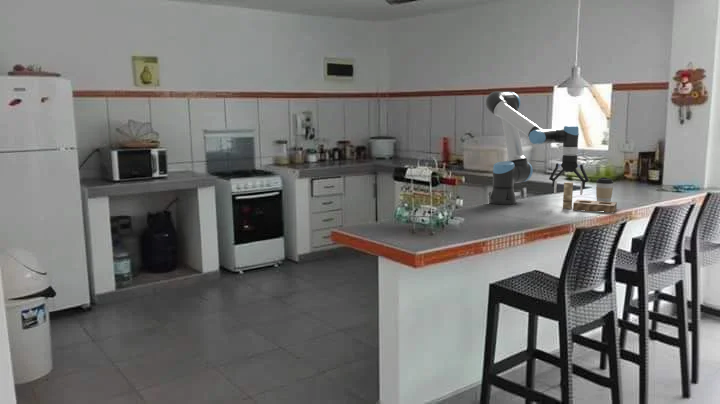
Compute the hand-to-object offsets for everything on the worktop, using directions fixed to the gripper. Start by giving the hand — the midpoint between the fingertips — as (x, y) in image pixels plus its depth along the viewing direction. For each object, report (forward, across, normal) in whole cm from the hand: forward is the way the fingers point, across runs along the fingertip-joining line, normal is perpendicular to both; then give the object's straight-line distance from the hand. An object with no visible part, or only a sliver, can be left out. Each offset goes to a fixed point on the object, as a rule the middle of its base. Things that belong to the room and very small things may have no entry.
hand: (568, 193), depth 316 cm
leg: (+8, 0, 0) cm, 8 cm away
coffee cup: (+8, +16, +19) cm, 26 cm away
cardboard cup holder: (+8, +14, 0) cm, 16 cm away
